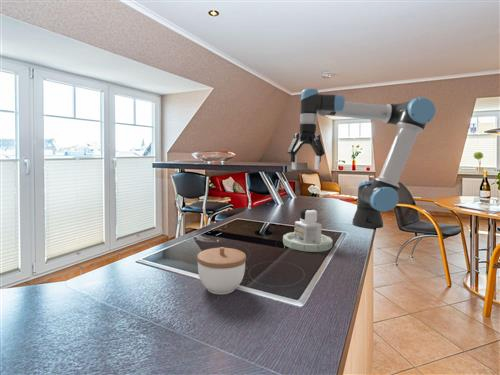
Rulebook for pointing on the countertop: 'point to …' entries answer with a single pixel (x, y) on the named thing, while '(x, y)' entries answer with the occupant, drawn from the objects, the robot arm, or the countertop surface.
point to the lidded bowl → (221, 269)
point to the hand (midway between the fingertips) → (305, 169)
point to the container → (308, 228)
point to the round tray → (293, 244)
